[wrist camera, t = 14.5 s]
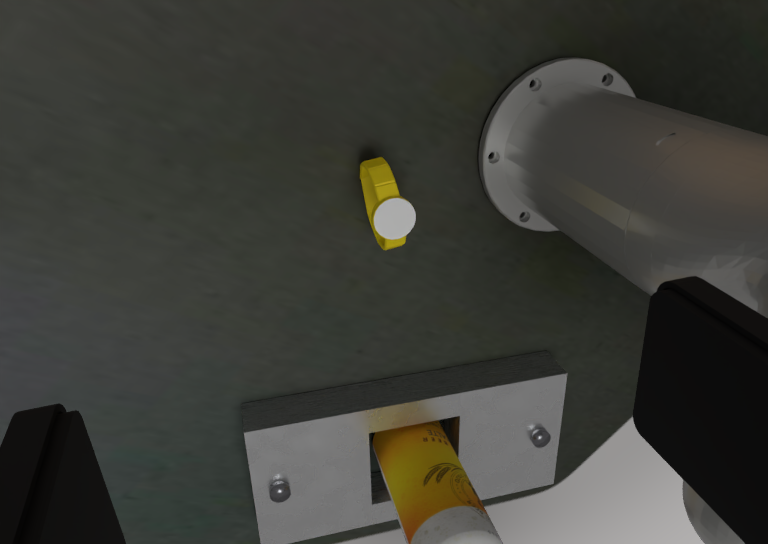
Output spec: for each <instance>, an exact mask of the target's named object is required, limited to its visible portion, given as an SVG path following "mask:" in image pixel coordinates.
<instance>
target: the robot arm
mask: <svg viewBox="0 0 768 544" xmlns="http://www.w3.org/2000/svg"><path fill="white" fill-rule="evenodd" d="M531 81H532V85H531V86H529V85H530V82H531ZM491 152H492V155H491V156H490V157H488V156H489V154H490V153H491ZM478 162H479V173H480V178H481V181H482V184H483V188H484V190H485V192H486V194H487V196H488V198H489V200H490V201H491V203H492V204H493V205H494V206H495V207H496V209H497V210H498V211H499V212H500V213H501V214H503V215H504V216H505V217H506V218H508V219H509V220H510V221H512V222H513V223H515V224H517V225H518V226H520V227H523V228H527V229H530V230H534V231H544V232H551V231H559V230H560V231H562V232H563V233H564V234H566V235H567V236H569V237H570V238H571V239H573V240H574V241H575V242H577V243H578V244H580V245H581V246H582V247H584V248H585V249H587V250H588V251H589V252H591V253H592V254H593V255H595V256H596V257H598V258H599V259H600V260H602V261H603V262H604V263H606V264H607V265H609V266H610V267H611V268H613V269H614V270H616V271H617V272H618V273H620V274H621V275H622V276H624V277H625V278H627V279H628V280H629V281H631V282H632V283H634V284H635V285H636V286H638V287H639V288H640V289H642V290H643V291H645V292H646V293H648V294H649V295H651V299H650V304H649V310H648V317H647V324H646V330H645V337H644V344H643V350H642V357H641V364H640V370H639V377H638V384H637V390H636V397H635V404H634V410H633V419H634V424H635V427H636V429H637V430H638V432H639V434H640V435H641V436H642V437H643V438H644V439H645V440H646V441H647V442H648V443H649V444H650V445H651V446H652V447H653V448H654V450H655V451H656V452H657V453H658V454H659V455H660V456H661V457H662V458H663V459H664V460H665V461H666V462H667V463H668V464H669V465H670V466H671V467H672V468H673V469H674V470H675V471H676V472H677V473H678V474H679V475H680V476H681V477H682V479H683V500H684V505H685V508H686V512H687V515H688V518H689V520H690V522H691V524H692V525H693V527H694V529H695V531H696V532H697V534H698V535H699V537H700V538H701V540H702V541H703V542H704V543H705V544H768V136H765V135H762V134H758V133H755V132H751V131H748V130H744V129H740V128H737V127H733V126H730V125H727V124H723V123H720V122H716V121H713V120H709V119H706V118H703V117H699V116H696V115H692V114H689V113H685V112H682V111H679V110H675V109H672V108H668V107H665V106H662V105H658V104H655V103H651V102H648V101H644V100H641V99H638V98H636V96H635V93H634V92H633V90H632V89H631V87H630V86H629V84H628V82H627V81H626V80H625V79H624V78H623V77H622V76H621V75H620V74H619V73H618V72H617V71H616V70H614V69H612V68H610V67H609V66H607V65H605V64H603V63H600V62H597V61H593V60H590V59H584V58H577V57H571V58H559V59H555V60H552V61H548V62H544V63H542V64H540V65H538V66H536V67H534V68H532V69H530V70H528V71H527V72H526V73H524V74H523V75H522V76H520V77H519V78H518V79H516V80H515V81H514V82H513V83H512V84H511V85H510V86H509V87H508V88H507V89H506V90H505V92H504V93H503V94H502V95H501V96H500V98H499V99H498V101H497V102H496V104H495V105H494V107H493V108H492V110H491V112H490V114H489V116H488V119H487V121H486V123H485V125H484V129H483V132H482V136H481V140H480V145H479V157H478ZM521 213H522V214H521ZM520 214H521V215H520ZM0 544H126V542H125V539H124V536H123V533H122V530H121V527H120V524H119V522H118V519H117V516H116V513H115V510H114V507H113V504H112V502H111V499H110V496H109V493H108V490H107V487H106V484H105V482H104V479H103V476H102V473H101V470H100V467H99V464H98V461H97V459H96V456H95V453H94V450H93V447H92V444H91V441H90V439H89V436H88V433H87V430H86V427H85V424H84V421H83V419H82V416H81V414H80V413H79V411H71V412H66V409H65V408H64V407H63V405H61V404H54V405H49V406H44V407H39V408H34V409H29V410H24V411H19V412H17V413H15V414H14V416H13V417H12V419H11V422H10V424H9V427H8V429H7V432H6V434H5V437H4V439H3V442H2V444H1V447H0Z"/></svg>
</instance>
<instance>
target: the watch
mask: <svg viewBox="0 0 768 544" xmlns="http://www.w3.org/2000/svg"><path fill="white" fill-rule="evenodd" d="M360 178H361V183H362V188H363V194H364V199H365V204H366V209H367V214H368V218H369V221H370V224H371V227H372V229H373V233H374V235H375V237H376V240H377V242H378V244H379V245H380V247H381V248H382V249H383V250H388V249H391V248H395V247H399V246H402V245H403V244H404V243H405V242H406V235H407V234H408V233H409V232H410V231H411V230H412V228H413V227H414V224H415V220H416V213H415V210H414V207H413V206H412V205H411V204H410V202H409V201H408V200H407V199H405V198H403V197H401V196H400V194H399V191H398V187H397V184H396V182H395V178H394V176H393V174H392V171H391V169H390V166H389V165H388V163H387V162H386V161H385V159H384V158H382V157H379V158H375V159H371V160H367V161H363V162H362V163H361V164H360Z"/></svg>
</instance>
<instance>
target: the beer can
mask: <svg viewBox="0 0 768 544" xmlns="http://www.w3.org/2000/svg"><path fill="white" fill-rule="evenodd" d="M373 450H374V453H375V456H376V459H377V462H378V464H379V467H380V470H381V473H382V476H383V478H384V481H385V484H386V487H387V490H388V492H389V495H390V498H391V501H392V504H393V506H394V509H395V512H396V515H397V518H398V520H399V523H400V526H401V529H402V531H403V534H404V537H405V540H406V543H407V544H503V543H502V541H501V539H500V537H499V535H498V533H497V531H496V529H495V527H494V526H493V524H492V522H491V520H490V518H489V516H488V514H487V512H486V510H485V508H484V506H483V504H482V503H481V501H480V499H479V497H478V495H477V493H476V491H475V489H474V487H473V485H472V483H471V482H470V480H469V478H468V476H467V474H466V472H465V470H464V468H463V466H462V464H461V463H460V461H459V459H458V457H457V455H456V453H455V451H454V449H453V447H452V445H451V444H450V442H449V440H448V438H447V436H446V434H445V432H444V430H443V428H442V426H441V425H440V423H439V421H438V420H436V421H431V422H425V423H420V424H415V425H410V426H405V427H399V428H394V429H389V430H384V431H379V432H376V433H375V435H374V438H373Z"/></svg>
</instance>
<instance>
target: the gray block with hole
mask: <svg viewBox="0 0 768 544" xmlns="http://www.w3.org/2000/svg"><path fill="white" fill-rule="evenodd" d="M566 380H567V372H566V371H565V370H564V369H563V368H562V367H561V366H560V365H559V364H558V362H557V361H556V360H555V359H554V358H553V357H552V356H551V355H550V354H549V353H548V351H542V352H537V353H531V354H525V355H519V356H514V357H508V358H502V359H496V360H491V361H485V362H479V363H473V364H468V365H462V366H456V367H450V368H445V369H439V370H433V371H427V372H421V373H416V374H410V375H404V376H398V377H393V378H387V379H381V380H375V381H370V382H364V383H358V384H352V385H347V386H341V387H335V388H329V389H324V390H318V391H312V392H306V393H301V394H295V395H289V396H283V397H278V398H272V399H266V400H260V401H255V402H249V403H243V404H241V407H242V417H243V428H244V436H245V443H246V450H247V456H248V463H249V469H250V476H251V482H252V489H253V495H254V502H255V509H256V515H257V522H258V528H259V535H260V541H261V544H288V543H293V542H297V541H302V540H306V539H311V538H315V537H319V536H324V535H328V534H333V533H337V532H342V531H346V530H351V529H355V528H359V527H364V526H368V525H373V524H377V523H382V522H386V521H390V520H395V519H398V518H397V515H396V512H395V509H394V506H393V504H392V501H391V498H390V495H389V492H388V490H387V487H386V484H385V481H384V478H383V476H382V473H381V471H380V472H375V473H371V472H370V448H369V433H373V432H379V431H384V430H389V429H394V428H399V427H405V426H410V425H415V424H420V423H425V422H431V421H436V420H441V419H444V432H445V434H446V436H447V438H448V440H449V442H450V444H451V445H452V447H453V449H454V451H455V453H456V455H457V457H458V459H459V461H460V463H461V464H462V466H463V468H464V470H465V472H466V474H467V476H468V478H469V480H470V482H471V483H472V485H473V487H474V489H475V491H476V493H477V495H478V497H479V499H480V500H484V499H488V498H492V497H497V496H501V495H506V494H510V493H515V492H519V491H523V490H528V489H532V488H537V487H541V486H546V485H550V484H553V483H554V475H555V467H556V459H557V451H558V443H559V435H560V428H561V420H562V412H563V404H564V396H565V388H566Z"/></svg>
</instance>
